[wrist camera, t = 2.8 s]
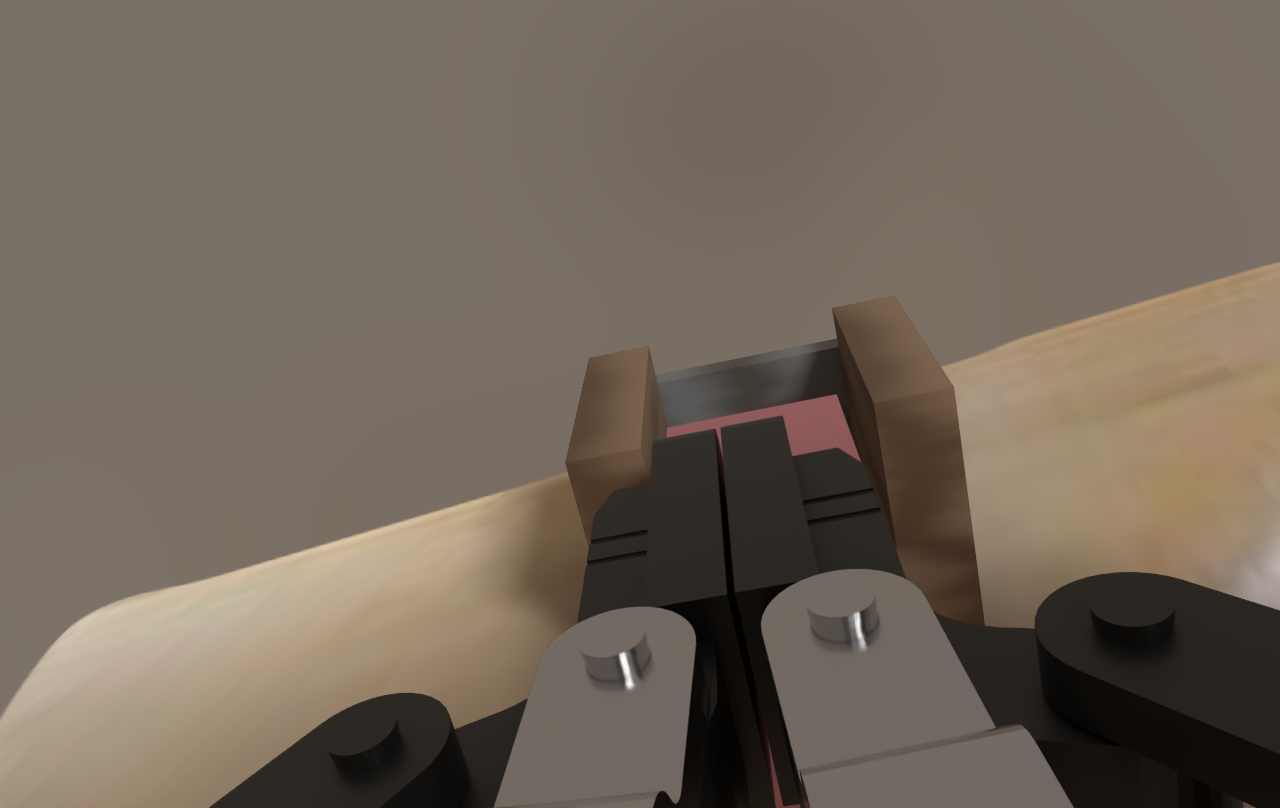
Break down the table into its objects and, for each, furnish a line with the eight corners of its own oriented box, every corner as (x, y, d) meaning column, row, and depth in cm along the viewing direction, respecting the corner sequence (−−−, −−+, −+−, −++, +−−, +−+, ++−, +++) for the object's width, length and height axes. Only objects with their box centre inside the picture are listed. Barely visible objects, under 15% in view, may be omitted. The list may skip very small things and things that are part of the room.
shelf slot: (919, 487, 57) (890, 288, 53) (985, 631, 44) (954, 387, 40) (639, 538, 58) (590, 350, 54) (629, 691, 46) (565, 462, 42)
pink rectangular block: (889, 697, 42) (836, 394, 38) (1002, 1095, 27) (939, 676, 23) (737, 722, 43) (666, 427, 38) (768, 1123, 28) (659, 722, 23)
